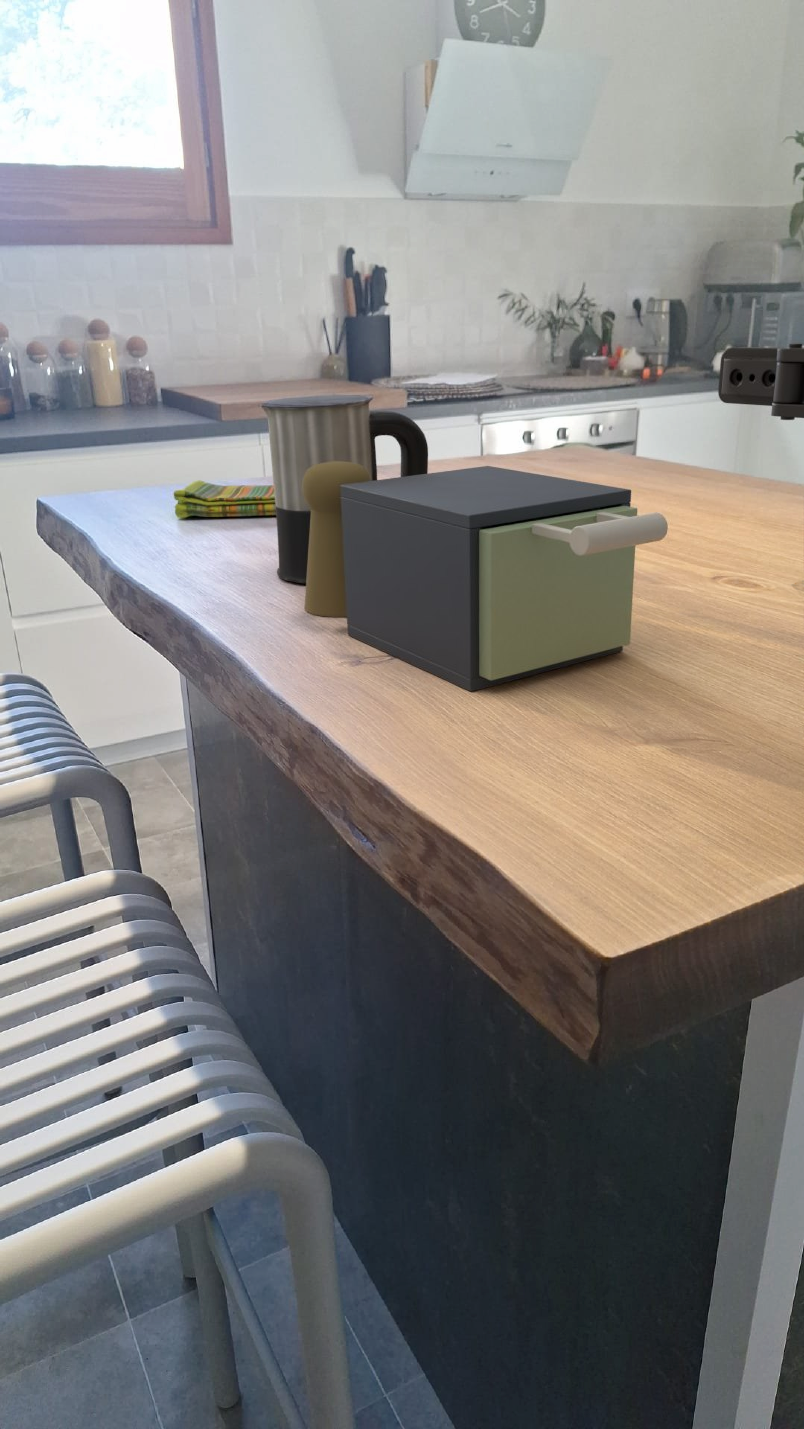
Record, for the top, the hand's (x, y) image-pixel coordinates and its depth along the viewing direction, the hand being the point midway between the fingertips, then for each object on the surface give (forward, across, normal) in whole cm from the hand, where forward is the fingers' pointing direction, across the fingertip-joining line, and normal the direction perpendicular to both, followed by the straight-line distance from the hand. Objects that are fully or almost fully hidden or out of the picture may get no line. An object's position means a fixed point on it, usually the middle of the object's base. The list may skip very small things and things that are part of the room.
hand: (789, 369), depth 45 cm
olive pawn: (+37, +2, +18) cm, 41 cm away
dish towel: (+77, -20, +18) cm, 82 cm away
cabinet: (+23, 0, +18) cm, 29 cm away
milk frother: (+50, -4, +18) cm, 54 cm away
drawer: (+19, 0, +17) cm, 25 cm away
